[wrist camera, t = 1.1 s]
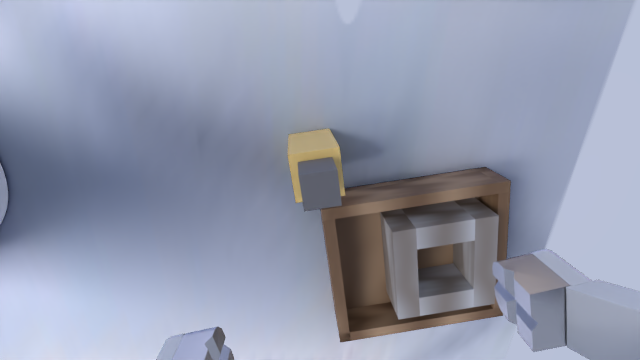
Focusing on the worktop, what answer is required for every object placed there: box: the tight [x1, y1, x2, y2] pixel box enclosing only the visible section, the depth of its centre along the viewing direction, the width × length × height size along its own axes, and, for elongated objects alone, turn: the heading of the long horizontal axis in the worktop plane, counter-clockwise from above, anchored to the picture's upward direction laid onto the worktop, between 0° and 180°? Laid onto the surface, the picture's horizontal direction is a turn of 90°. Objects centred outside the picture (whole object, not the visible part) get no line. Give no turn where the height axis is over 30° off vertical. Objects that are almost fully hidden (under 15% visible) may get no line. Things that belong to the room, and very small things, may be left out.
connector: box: [288, 128, 345, 211], centre depth 26 cm, size 4×4×10 cm
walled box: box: [320, 167, 511, 342], centre depth 32 cm, size 16×14×5 cm
